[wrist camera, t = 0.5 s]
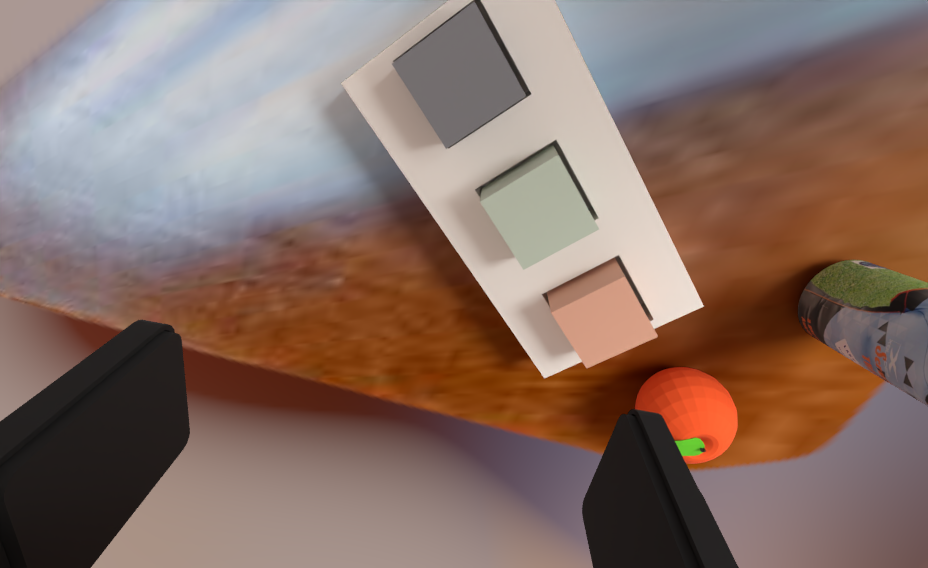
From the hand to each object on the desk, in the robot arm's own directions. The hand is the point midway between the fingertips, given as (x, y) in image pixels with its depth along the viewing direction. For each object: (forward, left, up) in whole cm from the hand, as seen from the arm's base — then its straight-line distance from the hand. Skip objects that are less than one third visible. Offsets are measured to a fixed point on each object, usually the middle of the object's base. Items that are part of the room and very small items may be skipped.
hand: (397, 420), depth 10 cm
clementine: (-4, +23, -24) cm, 34 cm away
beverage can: (-18, +21, -24) cm, 37 cm away
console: (-3, +4, -24) cm, 24 cm away
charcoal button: (-3, -5, -22) cm, 22 cm away
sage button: (-3, +4, -22) cm, 22 cm away
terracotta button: (-3, +12, -21) cm, 25 cm away
